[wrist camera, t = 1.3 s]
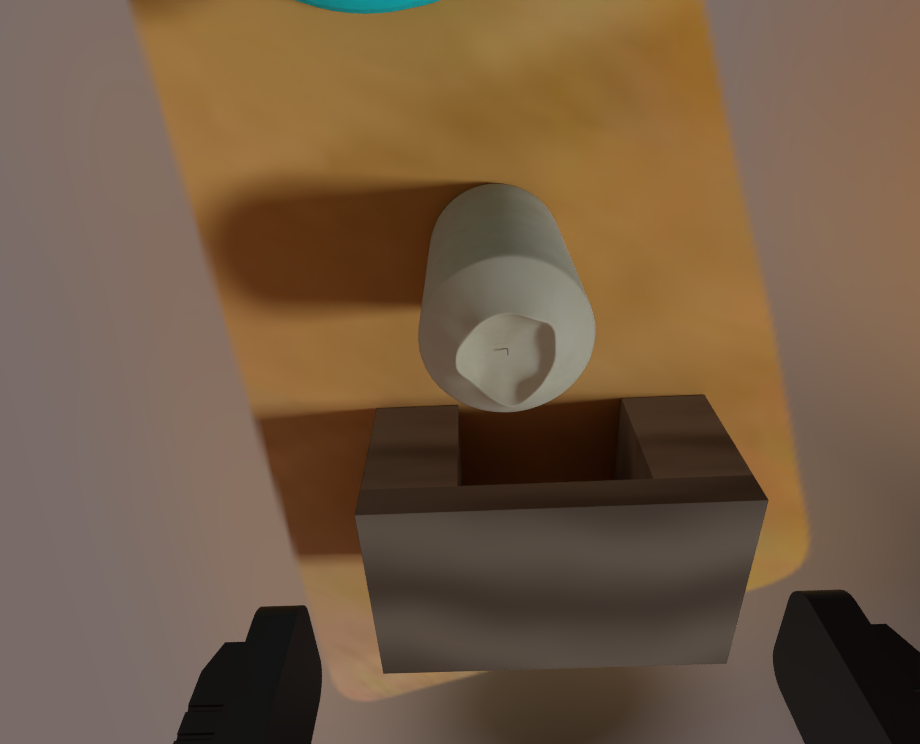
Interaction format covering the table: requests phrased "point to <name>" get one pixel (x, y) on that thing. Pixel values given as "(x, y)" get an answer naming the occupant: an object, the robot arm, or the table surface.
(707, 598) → the bridge
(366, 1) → the turquoise spool
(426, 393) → the table surface
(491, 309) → the candle
